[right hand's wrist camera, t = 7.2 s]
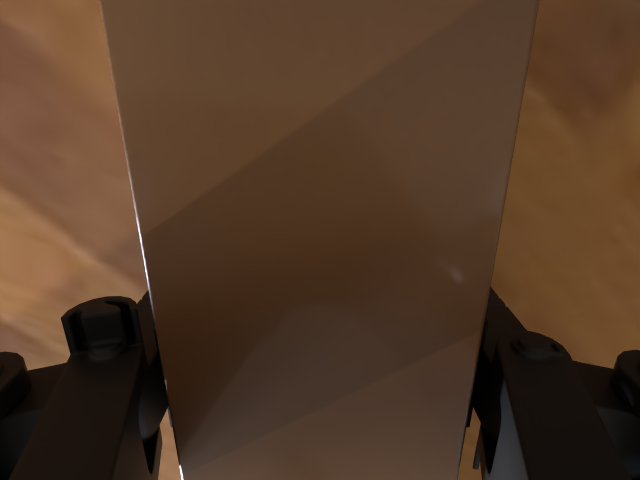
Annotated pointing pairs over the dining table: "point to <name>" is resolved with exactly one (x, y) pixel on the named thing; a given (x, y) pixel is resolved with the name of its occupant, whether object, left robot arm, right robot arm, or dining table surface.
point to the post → (319, 221)
